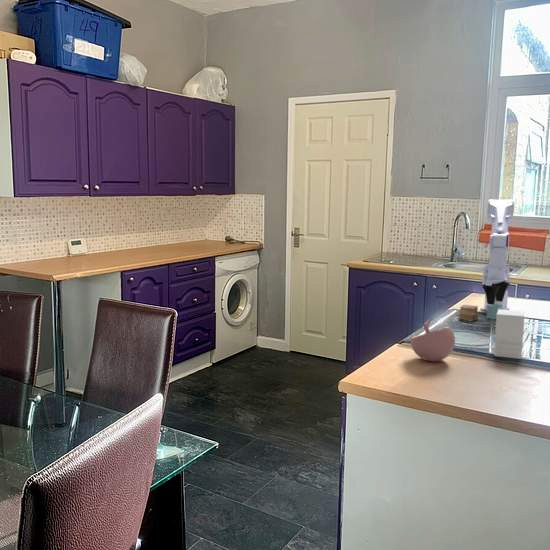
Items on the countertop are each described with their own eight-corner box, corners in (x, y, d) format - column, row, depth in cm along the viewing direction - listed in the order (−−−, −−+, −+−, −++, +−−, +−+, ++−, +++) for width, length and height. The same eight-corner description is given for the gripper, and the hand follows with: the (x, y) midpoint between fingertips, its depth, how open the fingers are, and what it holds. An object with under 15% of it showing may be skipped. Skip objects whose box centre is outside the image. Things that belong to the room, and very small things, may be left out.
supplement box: (521, 352, 166) (525, 310, 164) (521, 359, 159) (524, 316, 157) (495, 349, 169) (497, 308, 167) (493, 356, 162) (496, 313, 160)
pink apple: (423, 351, 166) (425, 313, 165) (461, 360, 158) (464, 321, 156) (401, 360, 158) (402, 320, 156) (439, 370, 150) (442, 328, 148)
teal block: (490, 316, 212) (491, 303, 211) (501, 318, 209) (502, 305, 208) (486, 318, 209) (487, 305, 208) (497, 320, 206) (497, 306, 205)
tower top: (463, 311, 210) (463, 304, 210) (477, 312, 208) (477, 306, 207) (460, 313, 206) (460, 306, 206) (474, 315, 203) (474, 308, 203)
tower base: (464, 317, 211) (465, 310, 210) (477, 319, 207) (478, 313, 207) (458, 319, 207) (459, 313, 207) (471, 322, 204) (472, 315, 204)
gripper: (500, 269, 198) (497, 307, 200) (516, 265, 208) (513, 301, 210) (480, 267, 203) (478, 304, 205) (497, 263, 213) (495, 298, 215)
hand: (495, 302), depth 208 cm, fingers open, 7 cm apart
